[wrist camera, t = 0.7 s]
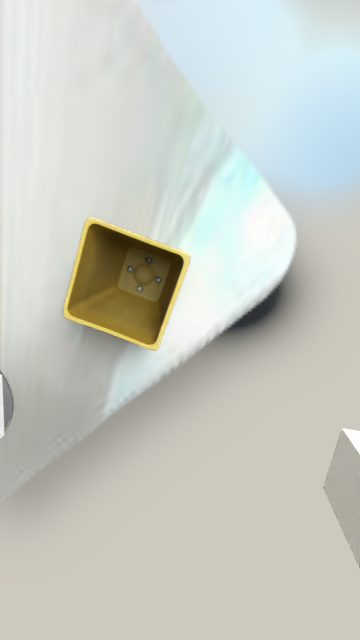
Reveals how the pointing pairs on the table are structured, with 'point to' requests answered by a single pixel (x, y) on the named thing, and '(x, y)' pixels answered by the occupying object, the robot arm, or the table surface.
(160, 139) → the table surface
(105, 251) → the flower pot
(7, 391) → the disc
